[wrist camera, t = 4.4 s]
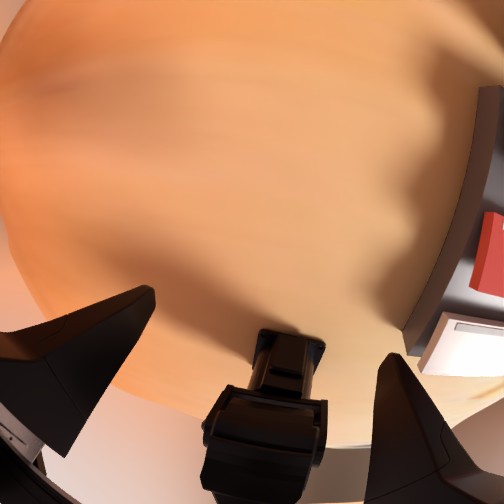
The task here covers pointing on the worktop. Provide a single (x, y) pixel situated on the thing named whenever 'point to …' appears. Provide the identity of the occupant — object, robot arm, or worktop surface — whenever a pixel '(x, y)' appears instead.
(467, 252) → the rocker switch panel
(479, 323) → the plate
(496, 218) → the rocker red
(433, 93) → the worktop surface
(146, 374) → the worktop surface
